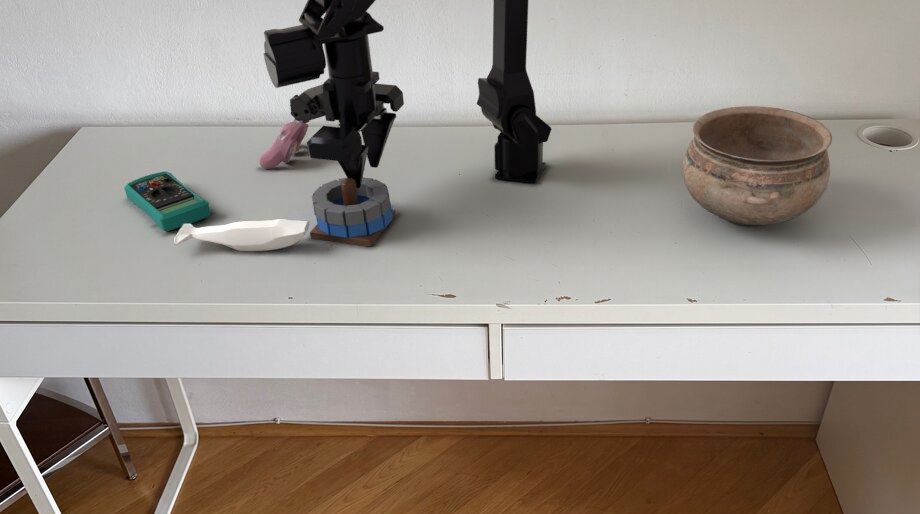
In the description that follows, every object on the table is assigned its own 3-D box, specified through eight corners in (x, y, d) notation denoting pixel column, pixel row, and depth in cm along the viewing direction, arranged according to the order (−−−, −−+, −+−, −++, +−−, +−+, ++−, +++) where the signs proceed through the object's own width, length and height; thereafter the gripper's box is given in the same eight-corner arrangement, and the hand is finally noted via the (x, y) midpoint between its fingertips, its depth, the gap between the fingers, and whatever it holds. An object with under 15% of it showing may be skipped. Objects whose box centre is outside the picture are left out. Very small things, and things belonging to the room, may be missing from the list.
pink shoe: (282, 180, 139) (294, 144, 135) (255, 167, 138) (267, 130, 134) (304, 154, 147) (316, 119, 142) (279, 141, 146) (291, 106, 142)
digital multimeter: (171, 183, 136) (166, 166, 134) (213, 217, 126) (209, 199, 125) (125, 199, 132) (120, 181, 131) (165, 235, 123) (160, 216, 121)
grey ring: (400, 194, 124) (399, 181, 123) (371, 229, 116) (369, 216, 115) (334, 186, 127) (332, 173, 125) (301, 220, 119) (298, 207, 118)
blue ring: (403, 206, 125) (401, 193, 124) (373, 241, 117) (372, 228, 116) (337, 197, 128) (335, 185, 127) (304, 231, 120) (302, 219, 119)
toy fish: (306, 258, 116) (301, 232, 114) (175, 257, 118) (168, 231, 116) (315, 238, 121) (311, 212, 118) (189, 236, 122) (182, 211, 120)
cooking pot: (834, 265, 110) (856, 177, 103) (680, 258, 113) (691, 171, 106) (804, 176, 130) (821, 97, 123) (674, 172, 133) (683, 94, 125)
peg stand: (395, 215, 125) (391, 170, 121) (370, 247, 118) (364, 200, 114) (338, 208, 127) (332, 163, 123) (310, 238, 121) (302, 192, 117)
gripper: (326, 40, 123) (342, 142, 133) (260, 93, 109) (283, 202, 119) (399, 45, 120) (410, 149, 130) (340, 101, 106) (357, 212, 116)
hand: (365, 177), depth 124 cm, fingers open, 6 cm apart
